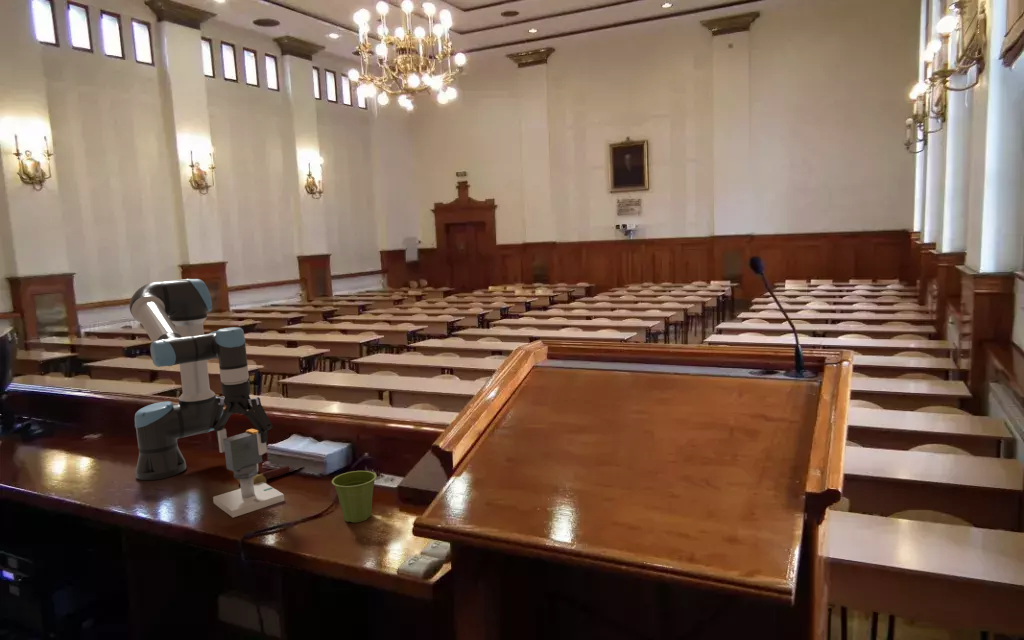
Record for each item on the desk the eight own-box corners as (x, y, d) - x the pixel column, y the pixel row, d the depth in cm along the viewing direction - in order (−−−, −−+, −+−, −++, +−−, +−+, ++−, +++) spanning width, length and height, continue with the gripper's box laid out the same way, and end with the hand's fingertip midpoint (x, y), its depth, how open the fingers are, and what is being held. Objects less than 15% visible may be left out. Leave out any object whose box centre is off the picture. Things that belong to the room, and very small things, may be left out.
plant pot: (388, 515, 180) (385, 475, 178) (352, 531, 171) (348, 490, 170) (362, 504, 188) (359, 467, 186) (326, 519, 179) (323, 480, 178)
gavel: (295, 456, 224) (312, 461, 218) (296, 469, 225) (312, 474, 218) (236, 471, 208) (252, 477, 202) (237, 485, 209) (253, 492, 202)
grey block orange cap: (237, 482, 187) (232, 439, 186) (225, 477, 192) (220, 436, 190) (265, 472, 194) (261, 431, 193) (254, 468, 198) (249, 428, 197)
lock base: (213, 503, 194) (210, 477, 193) (263, 487, 205) (260, 463, 203) (232, 517, 184) (229, 490, 182) (284, 500, 194) (281, 474, 193)
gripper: (280, 379, 189) (287, 450, 192) (209, 377, 196) (217, 446, 199) (263, 385, 182) (271, 458, 185) (190, 383, 189) (199, 454, 192)
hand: (243, 452), depth 192 cm, fingers open, 13 cm apart
